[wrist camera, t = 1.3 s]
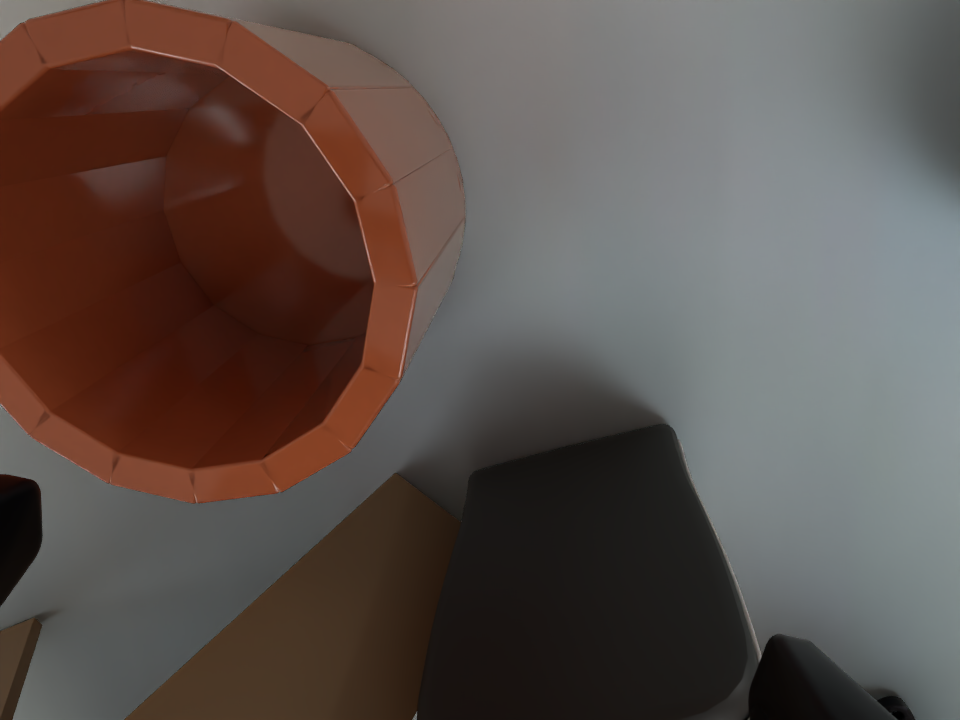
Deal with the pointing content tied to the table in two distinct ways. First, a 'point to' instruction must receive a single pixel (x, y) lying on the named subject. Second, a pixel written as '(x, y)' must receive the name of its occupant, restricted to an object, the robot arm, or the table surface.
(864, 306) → the table surface
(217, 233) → the terracotta pot
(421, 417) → the table surface
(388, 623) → the photo frame
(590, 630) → the battery charger
